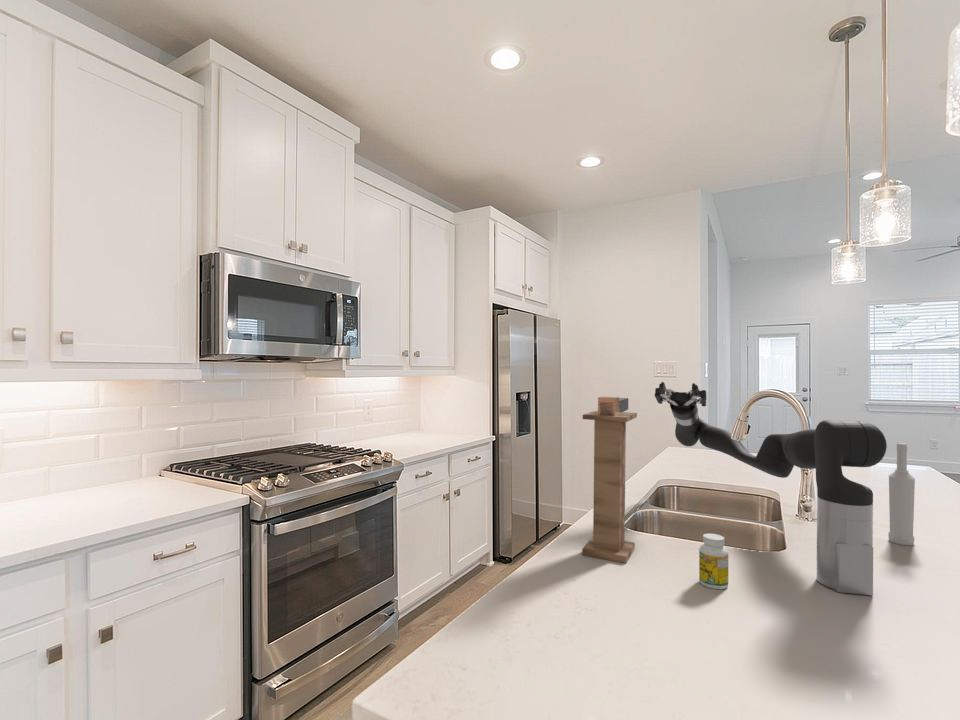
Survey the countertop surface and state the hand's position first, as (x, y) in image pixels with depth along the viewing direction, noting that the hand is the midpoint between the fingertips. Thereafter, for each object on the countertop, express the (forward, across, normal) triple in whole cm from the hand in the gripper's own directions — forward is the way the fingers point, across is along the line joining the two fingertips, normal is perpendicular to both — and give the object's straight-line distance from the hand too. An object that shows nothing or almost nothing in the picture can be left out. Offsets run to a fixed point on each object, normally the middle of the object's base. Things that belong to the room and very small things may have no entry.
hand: (677, 385), depth 147 cm
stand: (+13, +8, -52) cm, 54 cm away
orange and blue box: (+25, +9, -21) cm, 34 cm away
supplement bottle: (+18, -15, -55) cm, 60 cm away
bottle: (-27, -53, -28) cm, 66 cm away
